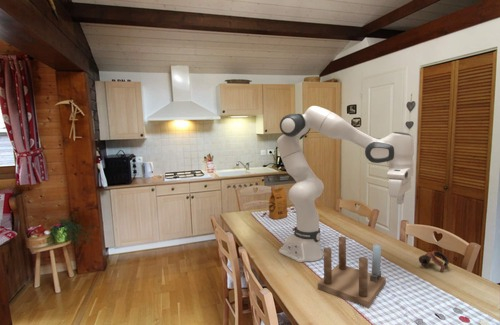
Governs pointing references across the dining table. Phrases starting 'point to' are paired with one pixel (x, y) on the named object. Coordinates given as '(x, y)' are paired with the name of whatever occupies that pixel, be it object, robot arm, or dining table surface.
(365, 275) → the stool seat
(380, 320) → the dining table surface
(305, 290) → the dining table surface
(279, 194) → the coffee package
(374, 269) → the hinged leg
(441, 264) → the pottery mug
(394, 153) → the robot arm
